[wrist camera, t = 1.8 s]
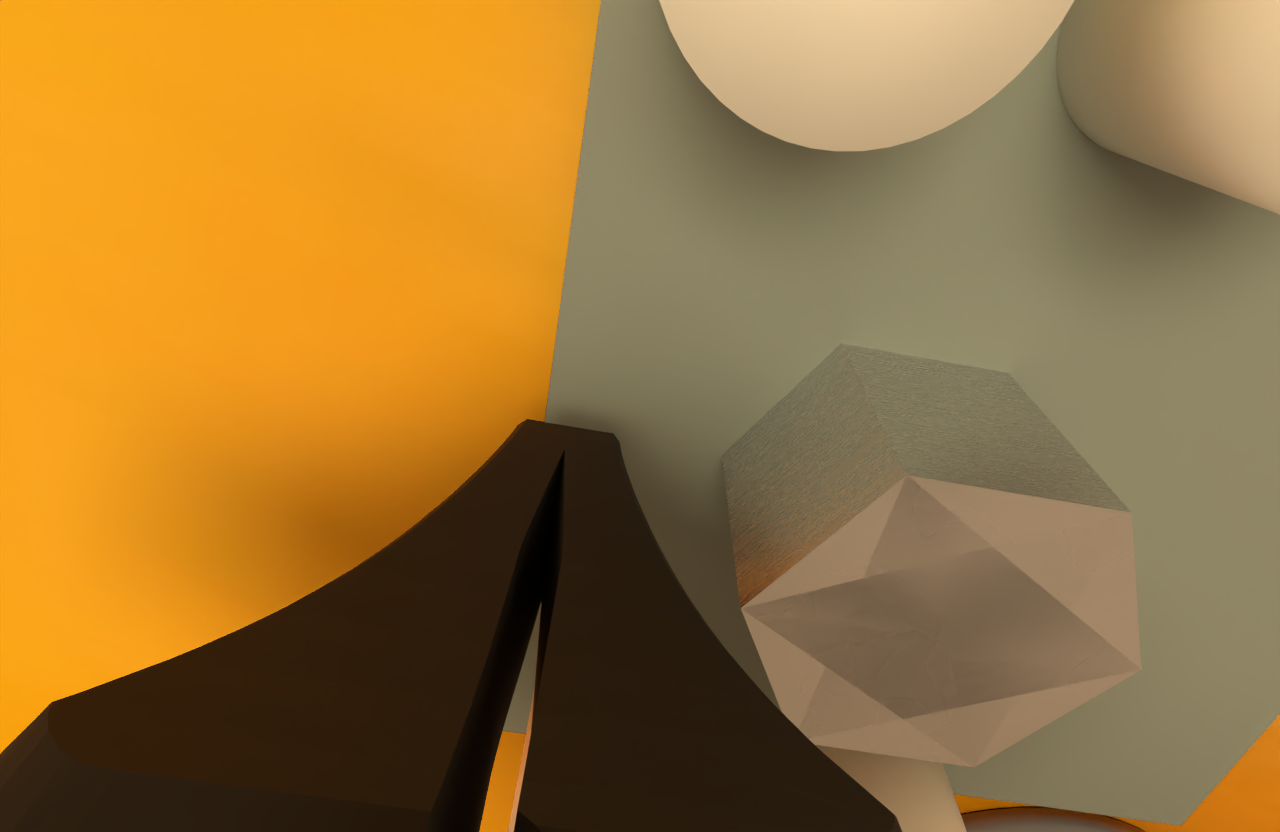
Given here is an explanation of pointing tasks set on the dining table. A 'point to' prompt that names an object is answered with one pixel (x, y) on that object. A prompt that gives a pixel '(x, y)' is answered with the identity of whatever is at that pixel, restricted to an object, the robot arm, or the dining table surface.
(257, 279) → the dining table surface
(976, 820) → the grey round coaster
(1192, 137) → the beige capsules
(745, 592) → the faceted crystal gem
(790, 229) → the mat
